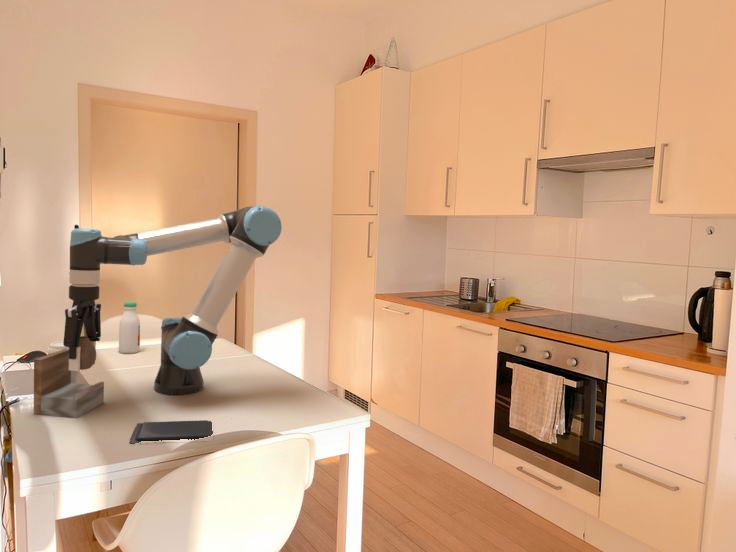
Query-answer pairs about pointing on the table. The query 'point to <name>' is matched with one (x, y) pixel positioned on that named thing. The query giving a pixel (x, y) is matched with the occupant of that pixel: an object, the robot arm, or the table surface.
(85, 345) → the vase
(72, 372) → the coffee cup
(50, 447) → the table surface
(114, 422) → the table surface
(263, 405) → the table surface
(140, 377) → the table surface
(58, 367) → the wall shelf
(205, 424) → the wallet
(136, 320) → the milk bottle
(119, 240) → the robot arm
